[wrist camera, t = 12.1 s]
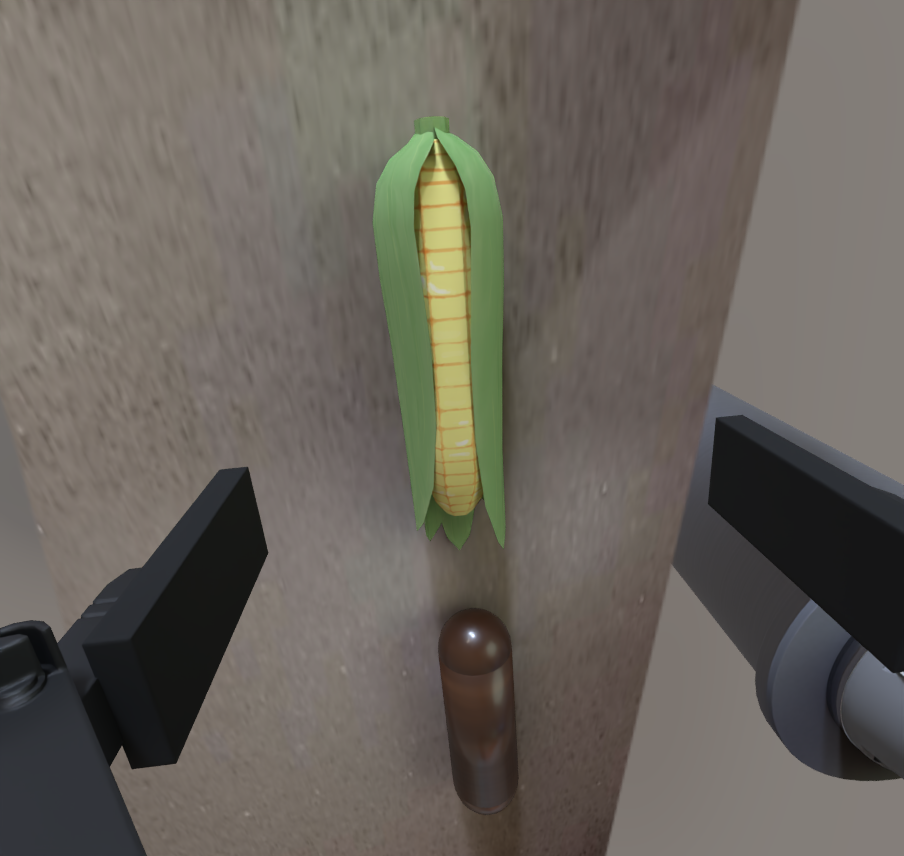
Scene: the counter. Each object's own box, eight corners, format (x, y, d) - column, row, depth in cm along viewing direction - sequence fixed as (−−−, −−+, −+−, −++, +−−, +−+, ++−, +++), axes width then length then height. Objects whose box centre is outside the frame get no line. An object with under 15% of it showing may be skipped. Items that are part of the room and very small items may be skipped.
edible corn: (491, 126, 22) (511, 104, 18) (506, 540, 30) (523, 593, 25) (366, 134, 22) (357, 113, 18) (411, 550, 29) (413, 606, 25)
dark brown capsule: (432, 597, 31) (437, 649, 27) (503, 589, 31) (516, 639, 27) (452, 771, 36) (458, 835, 32) (512, 762, 36) (525, 825, 32)
